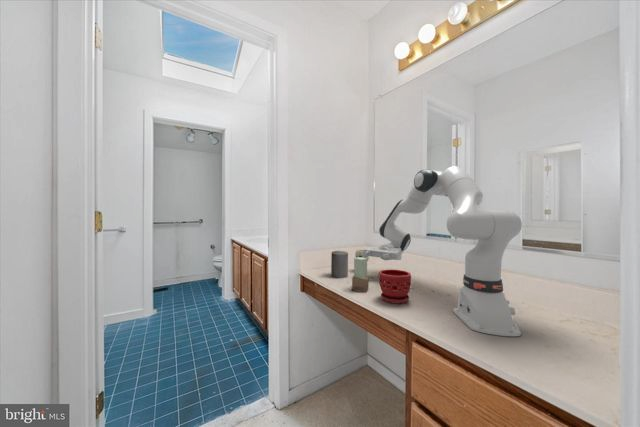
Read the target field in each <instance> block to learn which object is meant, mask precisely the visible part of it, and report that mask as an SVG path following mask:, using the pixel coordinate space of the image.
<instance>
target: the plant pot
mask: <svg viewBox="0 0 640 427" xmlns="http://www.w3.org/2000/svg"><path fill="white" fill-rule="evenodd" d="M378 280H379V287H380V290H381V294H380V297H381V298H382V300H383V301H386V302H388V303H392V304H404V303H407V302H408V301H409V299H410V296H409V295H408V294H409V292H410V290H411V289H410V287H411V285H412V275H411V273H410V272H409V271H406V270H401V269H382V270H380V271H379V272H378Z"/></svg>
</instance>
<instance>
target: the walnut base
mask: <svg viewBox="0 0 640 427" xmlns="http://www.w3.org/2000/svg"><path fill="white" fill-rule="evenodd" d="M351 279H352V280H351V284H352V285H351V286H352V287H351V291H353V292H362V293H363V292H364V293H367V292H368V290H369V281H370V280H369V274H367V277H365V278H363V279H361V278H357V277H354V275H353V276H352V277H351Z"/></svg>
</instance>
